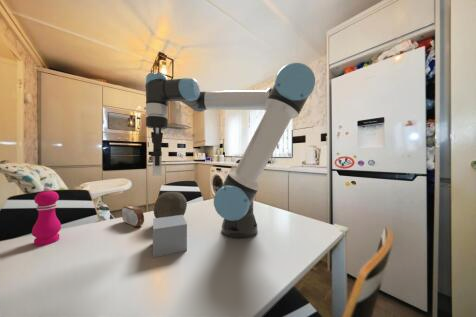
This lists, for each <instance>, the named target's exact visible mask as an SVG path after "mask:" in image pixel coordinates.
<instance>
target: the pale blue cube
mask: <svg viewBox="0 0 476 317" xmlns="http://www.w3.org/2000/svg"><path fill="white" fill-rule="evenodd" d="M152 220H153V222H152V258H157V257H158V258H159V257H162V256H167V255H172V254H177V253H181V252H186V251H188V223H187V221H186V219H185V216H183V215H177V216H170V217H162V218H153V219H152Z"/></svg>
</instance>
